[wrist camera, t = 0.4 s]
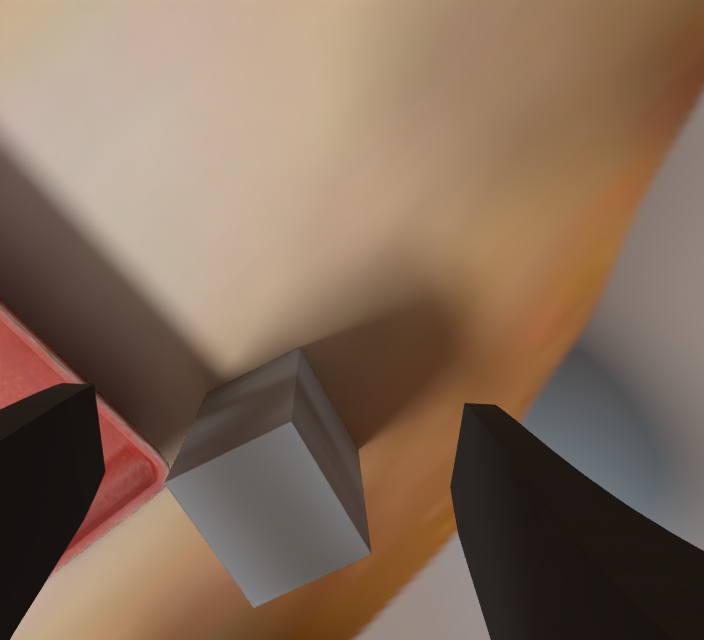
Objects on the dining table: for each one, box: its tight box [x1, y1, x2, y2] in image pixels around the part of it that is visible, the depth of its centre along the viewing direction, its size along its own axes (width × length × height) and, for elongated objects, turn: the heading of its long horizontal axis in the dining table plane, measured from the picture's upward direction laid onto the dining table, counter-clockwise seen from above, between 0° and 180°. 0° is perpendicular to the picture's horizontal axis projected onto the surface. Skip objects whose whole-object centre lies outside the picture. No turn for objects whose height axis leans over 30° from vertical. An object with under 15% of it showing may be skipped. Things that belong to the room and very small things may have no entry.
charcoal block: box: [164, 347, 371, 608], centre depth 18 cm, size 4×5×6 cm
